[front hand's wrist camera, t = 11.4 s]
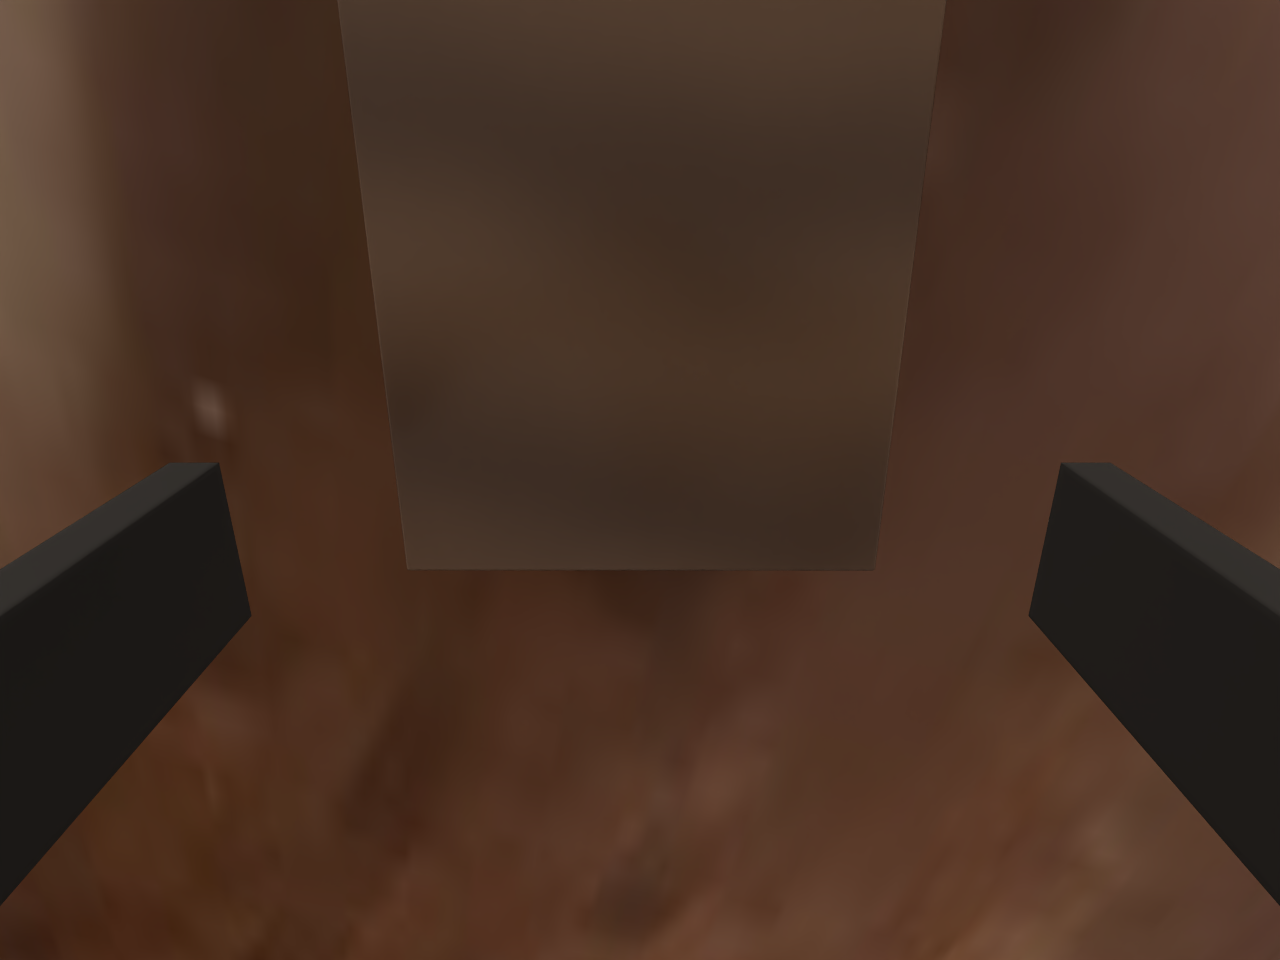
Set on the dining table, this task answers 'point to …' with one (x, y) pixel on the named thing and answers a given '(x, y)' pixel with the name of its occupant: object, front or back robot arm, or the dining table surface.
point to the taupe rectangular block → (641, 272)
